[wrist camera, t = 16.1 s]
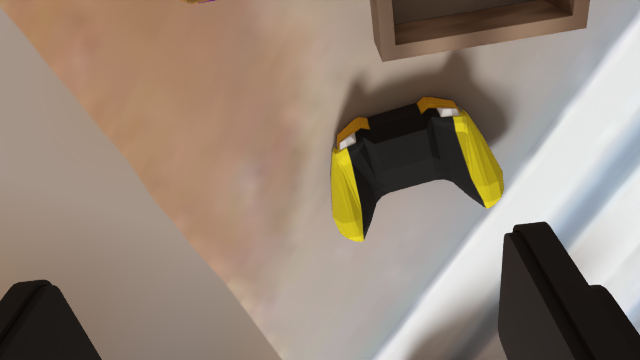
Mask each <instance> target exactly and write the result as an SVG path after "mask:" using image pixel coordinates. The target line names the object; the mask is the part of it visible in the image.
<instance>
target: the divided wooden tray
mask: <svg viewBox="0 0 640 360" xmlns="http://www.w3.org/2000/svg"><path fill="white" fill-rule="evenodd" d="M589 3H590V0H536V1H530V2H525V3H519V4H513V5H507V6H501V7H495V8H490V9H484V10H478V11H472V12H466V13H460V14H455V15H449V16H443V17H437V18H431V19H425V20H420V21H414V22H408V23H402V24H396V25H394V22H393V9H392V0H370V5H371V14H372V24H373V33H374V42H375V44H376V47H377V49H378V52H379V54H380V57H381V59H382V62H385V61H391V60H397V59H403V58H409V57H415V56H421V55H427V54H433V53H439V52H445V51H451V50H457V49H463V48H469V47H475V46H481V45H487V44H493V43H499V42H505V41H511V40H517V39H523V38H529V37H535V36H541V35H547V34H553V33H559V32H565V31H571V30H577V29H583V28H586V26H587V19H588V11H589Z"/></svg>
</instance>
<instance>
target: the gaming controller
mask: <svg viewBox="0 0 640 360" xmlns="http://www.w3.org/2000/svg"><path fill="white" fill-rule="evenodd" d="M330 178H331V198H332V212H333V218H334V220H335V222H336V225H337V227H338V229H339V231H340V233H341V234H342V235H344V236H345V237H346V238H348V239H351V240H353V241H364V239H365V236H366V234H367V231H368V228H369V226H370V223H371V220H372V217H373V213H374V210H375V207H376V203H377V202H378V200H379V199H380V198H381V197H382V196H384V195H386V194H388V193H390V192H393V191H397V190H400V189H404V188H408V187H411V186H415V185H419V184H422V183H426V182H429V181H433V180H440V179H445V180H448V181H452V182H453V183H455V184H456V185H457V186H458V187H459V188H460V189H461V190H463V191H464V192H465V193H466V194H467V195H468V196H470V197H471V198H473V199H474V200H475V201H477V202H478V203H479V204H481V205H482V206H484V207H485V208H490V207H492V206H493V205H495V204H496V203H497V202H498V200H499V199H500V198H501V197H502V194H503V191H504V183H503V173H502V170H501V168H500V166H499V164H498V163H497V161H496V159H495V157H494V155H493V154H492V152H491V150H490V148H489V146H488V145H487V143H486V141H485V139H484V138H483V136H482V134H481V132H480V131H479V129H478V128H477V126H476V125H475V124H474V122H473V121H472V119H471V118H470V116H469V115H468V114H467V112H466V111H465V110H464V109H463V108H462V107H461V106H456V105H455V103H454V102H453V101H451V100H445V99H439V98H433V97H423V98H422V99H421V100H420V101H419V102H418V103H415V104H411V105H408V106H405V107H402V108H398V109H395V110H392V111H388V112H385V113H382V114H378V115H375V116H372V117H368V118H363V117H357V118H356V119H355V120H353V121H352V122H351V123H350V124H349V125H348V126H347V127H346V128H345V129H343V130H342V131H341V132H340V133H339V134H338V135H337V141H336V142H335V143H334V144H333V148H332V154H331V171H330Z"/></svg>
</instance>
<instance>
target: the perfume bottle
mask: <svg viewBox="0 0 640 360" xmlns="http://www.w3.org/2000/svg"><path fill="white" fill-rule="evenodd" d="M181 1H184V2H187V3H190V4H195V3H203V2H209V1H214V0H181Z"/></svg>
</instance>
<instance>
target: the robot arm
mask: <svg viewBox="0 0 640 360" xmlns="http://www.w3.org/2000/svg"><path fill="white" fill-rule="evenodd" d="M498 332H499V337H500V341H501V344H502V346H503V349H504V351H505V354H506V356H507V359H508V360H640V335H639V333H638V332H637V331H636V329H635V328H634V326H633V325H632V323H631V322H630V321H629V319H628V318H627V316H626V315H625V313H624V312H623V311H622V309H621V308H620V306H619V305H618V303H617V302H616V301H615V299H614V298H613V296H612V295H611V294H610V293H609V291H608V290H607V289H606V288H605V287H603V286H601V285H588V283H587V282H586V280H585V279H584V277H583V275H582V274H581V272H580V271H579V269H578V268H577V266H576V265H575V263H574V262H573V260H572V259H571V257H570V256H569V254H568V253H567V251H566V250H565V248H564V247H563V245H562V244H561V242H560V241H559V239H558V238H557V236H556V235H555V233H554V232H553V230H552V229H551V227H550V226H549V225H548V223H546V222H536V223H528V224H519V225H515V226H514V228H513V232H512V233H506V234H505V236H504V244H503V258H502V273H501V287H500V302H499V317H498ZM0 360H102V359H101V358H100V356H99V354H98V353H97V351H96V349H95V348H94V346H93V344H92V343H91V341H90V339H89V338H88V336H87V334H86V333H85V331H84V329H83V328H82V326H81V324H80V323H79V321H78V319H77V318H76V316H75V315H74V313H73V311H72V309H71V308H70V306H69V304H68V303H67V301H66V299H65V298H64V296H63V294H62V293H61V291H60V289H59V288H58V287H57V286H55V285H52V284H51V283H50V282H49V281H47V280H35V281H26V282H18V283H16V284H14V285H13V286H12V287H11V288H10V289H9V290H8V292H7V293H6V294H5V296H4V297H3V298H2V300H1V301H0Z"/></svg>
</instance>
